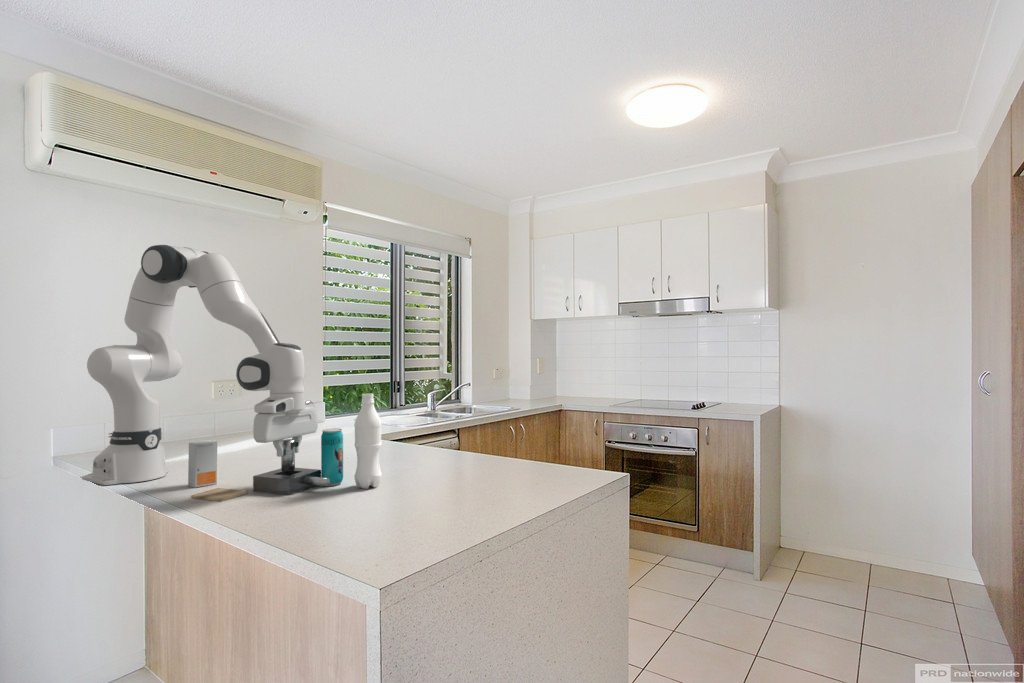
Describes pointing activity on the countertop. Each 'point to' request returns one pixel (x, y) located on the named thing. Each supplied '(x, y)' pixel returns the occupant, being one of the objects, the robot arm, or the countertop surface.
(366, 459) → the water bottle
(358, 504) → the countertop surface
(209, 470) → the skincare box
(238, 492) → the pad
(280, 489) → the grey handled square frame
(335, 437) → the beverage can
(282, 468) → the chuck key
